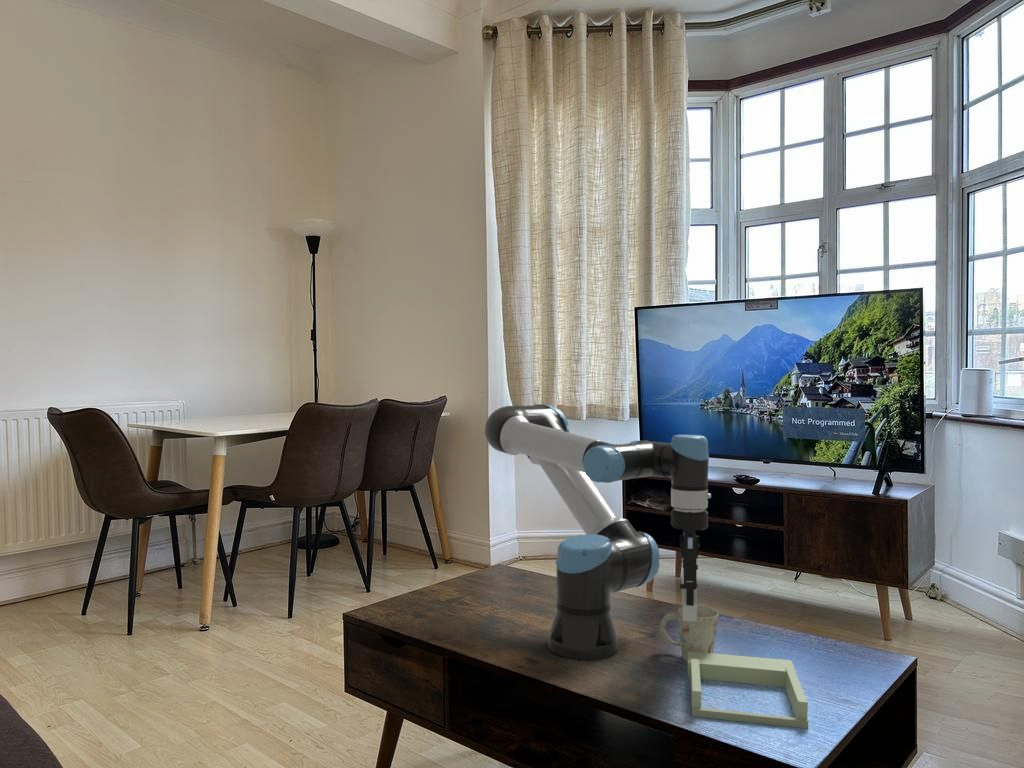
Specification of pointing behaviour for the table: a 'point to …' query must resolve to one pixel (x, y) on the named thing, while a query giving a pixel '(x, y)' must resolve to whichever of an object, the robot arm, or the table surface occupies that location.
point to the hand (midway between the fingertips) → (689, 610)
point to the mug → (693, 630)
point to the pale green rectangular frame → (747, 672)
